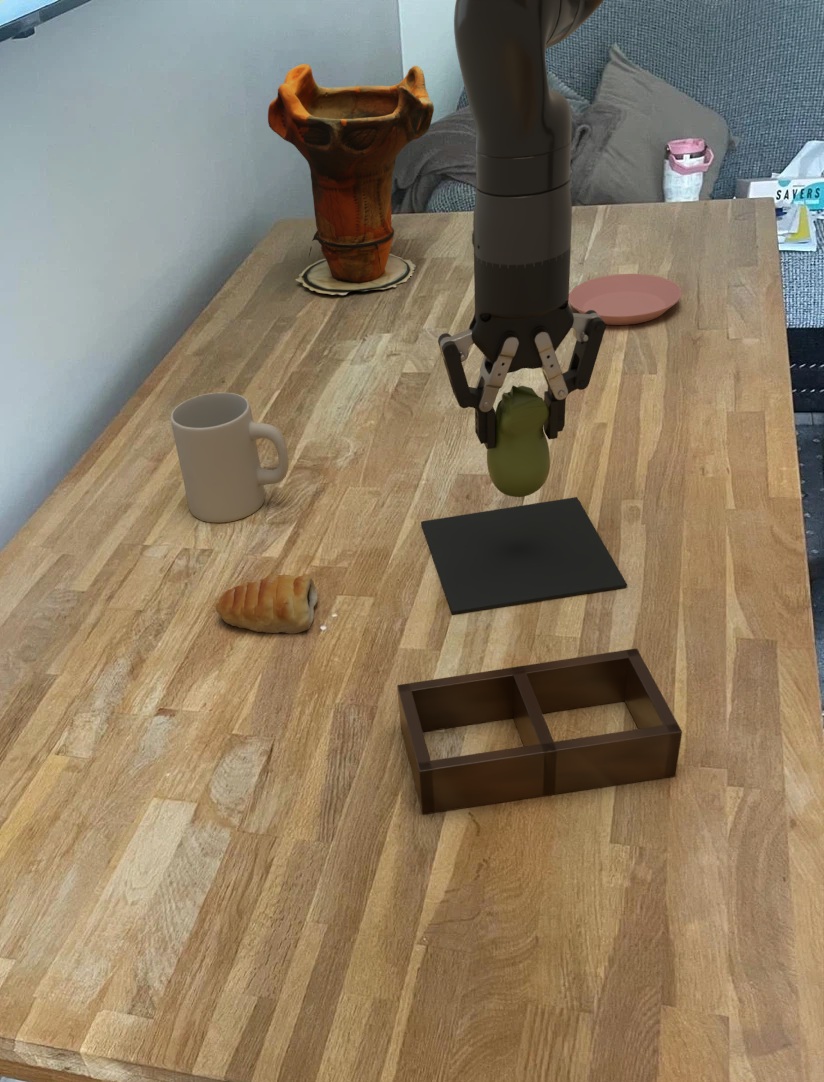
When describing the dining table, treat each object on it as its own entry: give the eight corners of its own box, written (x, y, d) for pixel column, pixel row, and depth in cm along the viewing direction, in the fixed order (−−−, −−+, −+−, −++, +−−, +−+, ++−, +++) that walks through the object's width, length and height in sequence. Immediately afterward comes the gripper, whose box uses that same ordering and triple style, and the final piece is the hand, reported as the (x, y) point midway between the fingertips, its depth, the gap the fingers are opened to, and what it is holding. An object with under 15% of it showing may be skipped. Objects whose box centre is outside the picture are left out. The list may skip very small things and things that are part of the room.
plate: (544, 312, 147) (545, 298, 146) (621, 280, 152) (622, 265, 151) (625, 340, 137) (626, 325, 136) (704, 304, 142) (706, 289, 141)
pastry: (214, 639, 101) (206, 605, 99) (225, 597, 106) (218, 564, 104) (314, 635, 100) (309, 600, 97) (320, 592, 105) (315, 559, 102)
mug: (178, 522, 118) (157, 429, 111) (203, 482, 124) (185, 391, 117) (284, 526, 115) (269, 430, 108) (304, 484, 121) (292, 391, 114)
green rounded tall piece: (531, 471, 103) (532, 370, 97) (560, 496, 99) (564, 392, 93) (478, 488, 102) (476, 387, 96) (505, 513, 98) (505, 410, 92)
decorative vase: (444, 290, 158) (437, 70, 139) (286, 309, 160) (259, 96, 142) (433, 242, 173) (426, 39, 155) (289, 260, 176) (265, 62, 157)
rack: (632, 691, 89) (637, 647, 86) (676, 776, 81) (682, 731, 78) (400, 727, 89) (397, 684, 86) (422, 814, 81) (419, 771, 78)
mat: (576, 500, 111) (577, 496, 111) (626, 587, 99) (627, 584, 99) (421, 524, 112) (420, 521, 111) (451, 614, 99) (451, 611, 99)
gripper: (440, 274, 83) (448, 472, 95) (627, 243, 83) (612, 446, 94) (423, 242, 89) (432, 434, 100) (597, 214, 89) (587, 409, 100)
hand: (519, 439), depth 97 cm, fingers closed on green rounded tall piece, 5 cm apart
